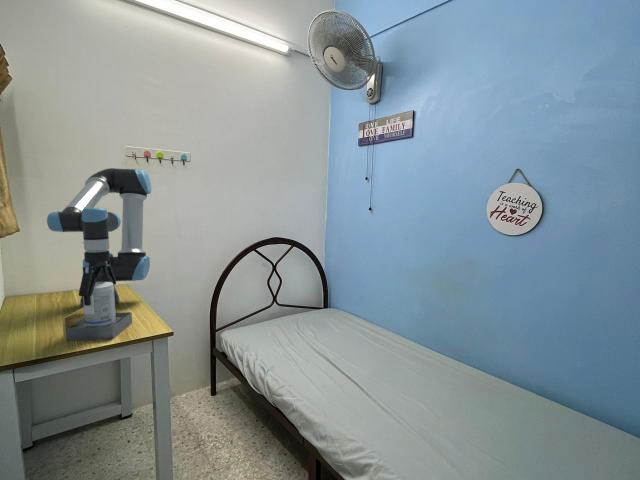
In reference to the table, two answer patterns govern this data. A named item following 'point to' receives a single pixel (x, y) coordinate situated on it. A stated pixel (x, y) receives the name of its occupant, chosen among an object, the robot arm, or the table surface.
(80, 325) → the gray square tray
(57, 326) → the table surface
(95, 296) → the supplement tub
